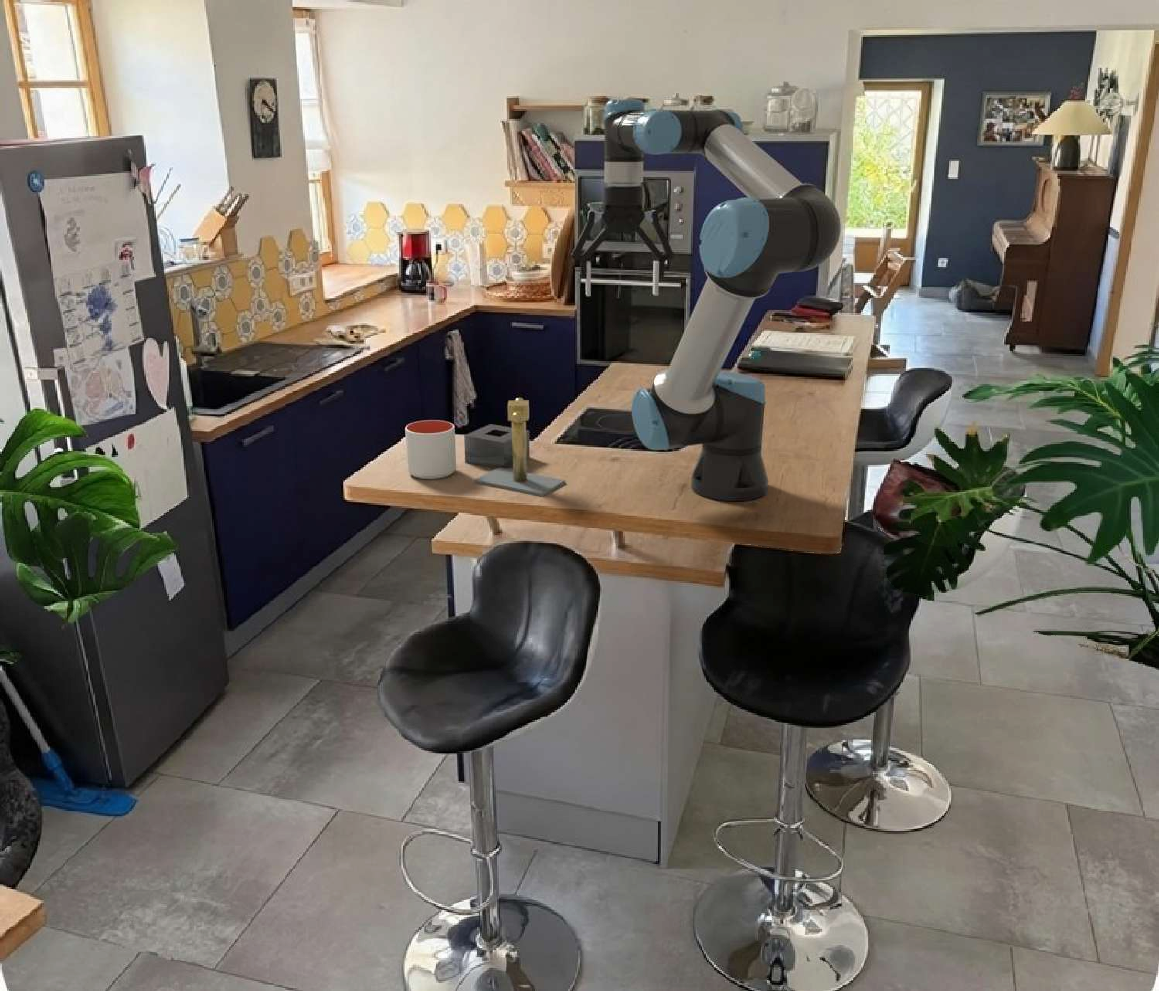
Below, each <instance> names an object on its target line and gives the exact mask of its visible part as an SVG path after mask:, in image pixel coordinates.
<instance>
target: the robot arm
mask: <svg viewBox="0 0 1159 991" xmlns="http://www.w3.org/2000/svg"><path fill="white" fill-rule="evenodd" d="M604 108H605V109H604V119H603V124H604V169H603V170H604V176H603V178H604V181H603V182H604V183H606V184H607V185H605V186H604V187H603V210H602V212H601V211H594V210H588V212H587V220H586V223H585V225H584V227H583V229H582V231H581V233H580V234H579V237H578V239H577V241H576V243H575V246H574V248H573V249H572V252H571V258H572V259H573V260H575V261H579V264H580V265H579V266H580V267H579V269H580V271H579V272H580V273H579V274H580V278H581V279H582V280H585V295H586V297H591V295H592V294H591V292H592V291H591V290H592V289H591V288H592V287H591V286H592V284H591V283H592V282H591V280H592V278H591V277H592V276H591V275H592V272H591V271H592V270H591V269H592V268H591V267H592V263H591V261H589V259H590V258H591V257H592V256H593V255H594V253H595V252H596V250H597V249H598V248H599V247H600V245H602V243H603V242H604V241H605V240H606V238H608V236H609V235H610V234H611V233H612V234H615V235H621V234H625V235H632V234H634V233H636V234H637V236H639V238H640V239H641V240H642V242H643V244H645V246H646V247H647V248H648V249H649V251H650V252H651V253H652V255H653V256H654V257H655V258H656V259H657V260H653V261H652V262H653V266H652V268H653V269H652V294H653V296H659V283H660V281H659V280H660V279H664V276H665V262H666V261H667V260H670V259H674V257H675V254H674V252H673V250H672V247H671V246H670V243H669V241H668V238H667V236H666V234H665V231H664V230H663V227H662V226H661V223H660V217H659V216H660V214H659V211H658V210H657V209H656V210H655V209H652V210H650V211H649V210H648V211H644V208H643V201H644V200H643V198H644V197H643V192H644V190H643V189H644V187H643V186H641V184H642V183H643V182H644V154H648V155H652V156H654V155H663V154H701V155H703V157H704V158H706V160H708V162H710V163H711V164H712V165H713V166H714V167H715V168H716V169H717V170H719V172H720V173H722V175H724V176H725V177H726V179H728V180H729V181H730V182H731V183H732V184H733V185H735V187H737V188H738V189H739V190H740V192H742V193H743V194H744V195H745V196H746V197H741V198H740V197H739V198H737V199H730V200H729V199H728V200H726V201H722V202H721V203H719V204H717V205H716V206H715V207H714V208H713V209H712V210H710V212H709V213H708V214H707V217H706V218H705V220H704V223H703V224H702V228H701V231H700V234H699V240H701V243H700V245H699V246H698V247H699V256H700V260H701V263H702V264H703V270H704V273H705V275H706V277H707V279H706V281H705V283H704V285H703V288H702V290H701V291H700V295H699V297H698V299H697V302H696V304H695V306H694V309H693V310H692V313H691V315H690V318H689V320H688V323H687V324H686V327H685V329H684V332H683V334H682V336H681V339H680V340H679V343H678V346H677V348H676V351H675V352H674V355H673V357H672V360H671V362H670V364H669V367H665V368H663V369H662V370H660V371H659V372H658V373H657V375H656V376H655V379H654V380H653V382H652V385H651V387H650V388H645V387H644V388H641V389H639V390H636V392H635V393H634V395H633V397H632V401H631V418H632V422H633V427H634V429H635V432H636V434H637V437H638V440H640V442H641V443H642V444H643V446H644V447H645V448H647V449H648V450H652V451H659V450H661V451H662V450H664V451H668V450H670V449H677V448H683V447H684V448H685V447H690V446H696V445H701V451H700V454H699V456H698V458H697V460H696V464H695V466H694V468H693V471H692V474H691V478H690V479H691V484H690V485H691V486H690V487H691V490H692V491H693V492H694V493H696V494H698V495H700V496H702V497H706V498H709V499H713V500H717V501H726V502H728V501H729V502H741V501H740V500H745V501H751V499H752V500H755V498H756V499H758V498H757V497H759V498H761V496H762V497H764V496H765V495H766V494H767V493H768V488H769V479H768V475H767V471H766V467H765V463H764V460H763V459H764V458H763V455H762V444H763V432H764V420H765V419H764V418H765V405H767V404H766V403H767V401H766V386H765V384H764V382H763V381H762V380H760V379H759V378H757V377H754V376H751V375H748V374H743V373H739V372H734V371H733V372H731V371H722V370H721V369H722V368H723V366H724V363H725V361H726V359H727V357H728V355H729V353H730V351H731V349H732V347H733V345H734V343H735V340H736V339H737V337H738V334H740V330H741V329H742V326H743V324H744V323H745V320H746V318H747V316H748V315H749V311H750V310H751V308H752V306H753V304H754V302H755V300H756V299H759V298H762V297H764V296H766V295H767V294H768V293H769V292H770V290H771V288H772V286H773V284H774V282H775V280H776V278H777V276H778V275H779V274H784V273H785V274H786V273H798V272H800V273H801V272H806V271H809V270H812V269H815V268H817V267H819V266H820V265H822V264H823V263H825V262H826V261H827V260H828V259H829V258H830V257H831V255H832V254H833V253H834V251H835V249H836V248H837V245H838V244H839V241H840V237H841V230H842V226H841V218H840V215H839V214H840V213H839V211H838V209H837V207H836V206H835V204H834V202H833V201H832V200H831V199H830V197H828V196H827V195H826V193H824V192H823V191H822V190H820V188H818V187H817V186H816V185H814V184H811V183H802V182H801V181H800V180H799V179H797V178H796V177H795V176H794V175H793V174H791V172H789V171H788V170H787V169H786V168H785V167H783V165H781V164H780V163H779V162H777V160H775V159H774V158H773V157H771V156H770V155H769V154H768V153H767V152H766V151H765V150H763V149H762V148H761V147H760V146H758V144H756V143H755V142H754V141H753V140H751V139H750V137H748V136H747V135H746V134H744V124H743V122H742V121H741V117H740V115H739V114H738V113H736V112H734V111H732V110H731V111H729V110H724V109H714V110H705V109H704V110H683V109H682V110H679V109H678V110H677V109H675V110H674V109H672V110H671V109H662V108H659V109H656V108H652V109H647V110H646V109H645V103H644V102H643V101H642V99H610V100H608V101H607V102H606V103H605V107H604ZM599 219H602V221H603V222H604V224H605V225H604V227H603V228H602V229H601V231H600V232H599V234H597V236H596V237H595V238H594V240H593V241H592V242H591V243H590V244H589V246H588V247H587V248H586V249H585V250H584V252H583V253H581V252H582V250H583V247H584V245H585V244H586V241H587V239H588V238H589V235H590V233H591V231H592V229H593V227H594V225H595V223H596V224H597V222H598V221H599ZM645 219H646V220H647V222H649V223H651V225H652V227H653V229H654V232H655V234H656V236H657V238H658V240H659V243H660V244H661V247H662V249H663V251H664V252H663V253H662V252H661V251H660V250H659V248H658V247H657V245H656V244H654V242H653V241H652V240H651V238H650V237H649V236H648V235H647V233H646V232H645V231H644V229H643V228H642V227H641V224H642V222H643V221H644V220H645ZM766 492H767V493H766ZM765 493H766V494H765ZM764 494H765V495H764Z"/></svg>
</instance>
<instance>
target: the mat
mask: <svg viewBox="0 0 1159 991" xmlns="http://www.w3.org/2000/svg"><path fill="white" fill-rule="evenodd" d="M474 483H475V484H480V485H485V486H490V487H495V488H500V489H504V490H510V491H515V492H519V493H525V494H527V495H528V494H529V495H534V496H539V497H544V496H546V495H547V494H549V493H551V492H553V491H554V490H556V489H557V488H560V487H561V486H563V485H564V484H566V480H565V479H561V478H555V477H551V476H547V475H540V474H535V473H530V472H527V481H525V482H515V481H514V480H513V469H510V468H508V469H505V468H500V467H499V468H497V469H496V468H494V469H493V470H490V471H489V472H487V473H485V474H483V475H481V476H479V477H477V478H475V479H474Z"/></svg>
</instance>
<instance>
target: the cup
mask: <svg viewBox="0 0 1159 991" xmlns="http://www.w3.org/2000/svg"><path fill="white" fill-rule="evenodd" d="M455 428H456V427H455V425H454V424H453V423H451V422H449V421H445V420H437V419H434V420H433V419H429V420H420V421H414V422H411V423H408V424H407V425H406V426H405V428H404V431H405V451H406V465H407V471H408V473H409V474H410V475H412V476H413V477H414V478H418V479H423V480H437V479H442V478H445V477H449V476H450V475H452V474H454V472H455V471H456V469H457V458H456V457H457V452H456V432H455V431H456V430H455Z"/></svg>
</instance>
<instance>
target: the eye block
mask: <svg viewBox="0 0 1159 991" xmlns="http://www.w3.org/2000/svg"><path fill="white" fill-rule="evenodd" d="M463 438H464V439H463V440H464V441H463V442H464V444H463V445H464V463H466V464H471V465H476V466H477V465H478V466H481V467H485V468H492V469H497V468H499V467H500V468H505V469H510V468H511V467H513V451H512V426H511V427H509V426H503V425H497V424H492V423H490V424H488V425H485V426H484V427H480V428H478V429H476V430H474V431H471V432H469V433H466V434H465V435H464V436H463ZM526 451H527V459H528V458H530V430H527V429H526Z"/></svg>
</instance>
